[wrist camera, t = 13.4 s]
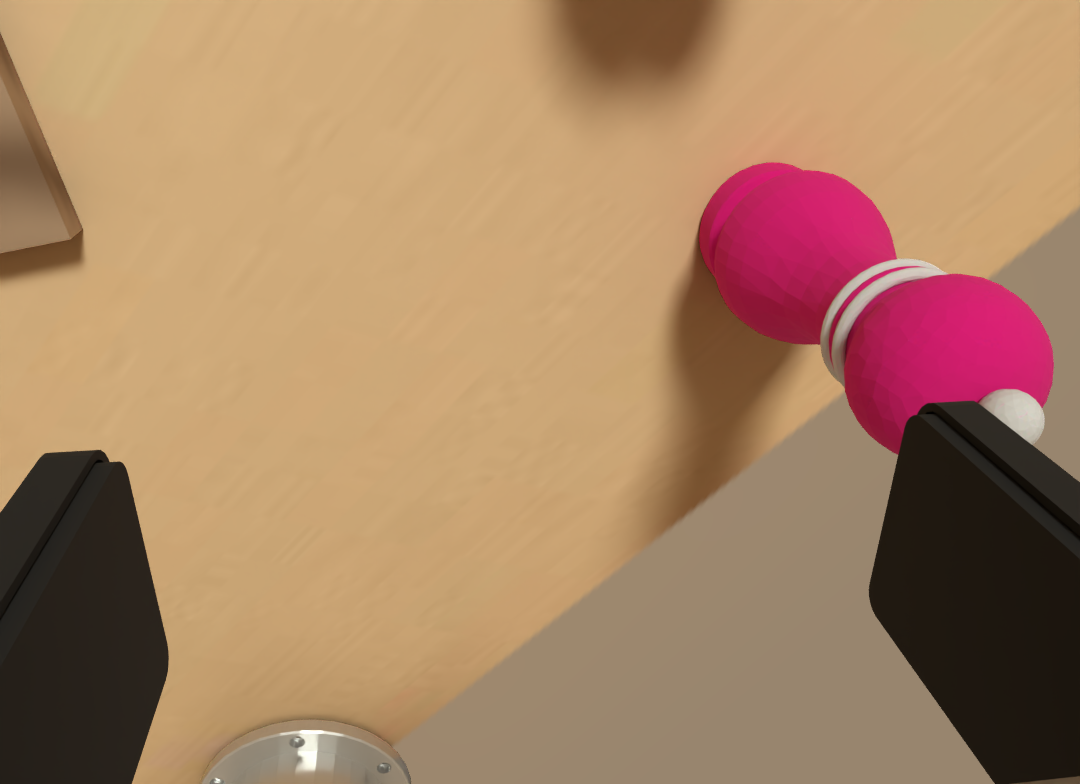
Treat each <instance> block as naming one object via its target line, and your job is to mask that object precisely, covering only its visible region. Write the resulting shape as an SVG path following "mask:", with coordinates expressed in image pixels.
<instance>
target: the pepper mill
mask: <svg viewBox="0 0 1080 784" xmlns="http://www.w3.org/2000/svg"><path fill="white" fill-rule="evenodd" d="M699 243H700V250H701V253H702V256H703V259H704V262H705V264H706V266H707V268H708V269H709V271H710V272H711V273H712V274H713V276H714V277H715V278H716V282H717V285H718V288H719V291H720V293H721V295H722V297H723V299H724V301H725V303H726V305H727V306H728V307H729V309H730V310H731V311H732V312H733V314H735V315H736V316H737V317H738V318H739V319H740V320H741V321H743V322H744V323H745V324H747V325H748V326H750V327H751V328H752V329H754V330H755V331H757V332H758V333H760V334H763V335H765V336H768V337H770V338H773V339H777V340H780V341H784V342H789V343H793V344H819V345H820V346H821V352H822V357H823V360H824V363H825V365H826V366H827V368H828V370H829V371H830V373H831V374H832V375H833V377H834V378H835V379H836V380H837V381H839V382H840V383H841V384H842V385H843V386H844V388H845V392H846V395H847V399H848V402H849V406H850V407H851V409H852V411H853V413H854V415H855V417H856V419H857V420H858V422H859V423H860V424H861V426H862V427H863V428H864V429H865V430H866V432H867V433H868V434H869V435H870V436H871V437H872V438H874V439H875V440H876V441H877V442H878V443H880V444H881V445H883V446H884V447H886V448H887V449H889V450H890V451H892V452H894V453H896V454H898V455H899V450H900V446H901V441H902V437H903V432H904V428H905V425H906V422H907V421H908V419H909V418H910V417H911V416H913V415H917V413H918V411H919V410H920V409H921V407H922V406H924V405H925V404H927V403H937V402H955V401H975V402H977V403H979V404H980V405H982V406H983V407H984V408H985V409H987V410H988V411H989V412H991V413H992V414H993V415H994V416H996V417H997V418H998V419H999V420H1001V421H1002V422H1003V423H1005V424H1006V425H1007V426H1008V427H1010V428H1011V429H1012V430H1014V431H1015V432H1016V433H1017V434H1019V435H1020V436H1021V437H1022V438H1024V439H1025V440H1026V441H1028V442H1029V443H1030V444H1031V445H1032V444H1034V443H1035V442H1036V441H1037V440H1038V438H1039V437H1040V435H1041V433H1042V431H1043V428H1044V414H1043V411H1042V408H1043V406H1044V404H1045V403H1046V401H1047V398H1048V395H1049V392H1050V388H1051V386H1052V379H1053V367H1054V362H1053V351H1052V346H1051V343H1050V340H1049V337H1048V335H1047V333H1046V331H1045V329H1044V327H1043V325H1042V323H1041V321H1040V320H1039V319H1038V317H1037V316H1036V315H1035V313H1034V312H1033V311H1032V310H1031V308H1030V307H1029V306H1028V305H1027V304H1026V303H1025V302H1024V301H1022V300H1021V299H1020V298H1019V297H1018V296H1017V295H1015V294H1014V293H1012V292H1010V291H1009V290H1007V289H1006V288H1004V287H1003V286H1001V285H999V284H997V283H994V282H992V281H990V280H987V279H985V278H982V277H976V276H970V275H963V274H947V273H945V272H943V271H941V270H940V269H939V268H938V267H936V266H934V265H932V264H930V263H928V262H925V261H921V260H915V259H897V258H896V253H895V249H894V244H893V240H892V237H891V234H890V231H889V228H888V226H887V224H886V222H885V221H884V219H883V217H882V215H881V213H880V212H879V210H878V209H877V207H876V206H875V205H874V203H873V202H872V200H871V199H869V198H868V197H867V196H866V195H865V194H864V193H862V192H861V191H860V190H859V189H858V188H857V187H855V186H854V185H853V184H851V183H850V182H848V181H847V180H845V179H843V178H841V177H838V176H836V175H834V174H829V173H825V172H821V171H809V170H804V171H803V170H801V169H799V168H797V167H795V166H793V165H788V164H783V163H763V164H758V165H753V166H751V167H749V168H746V169H744V170H742V171H739V172H738V173H736V174H735V175H733V176H732V177H730V178H729V179H728V180H727V181H726V182H725V183H724V184H722V185H721V186H720V188H719V189H718V190H717V191H716V193H715V194H714V195H713V196H712V198H711V200H710V202H709V203H708V205H707V207H706V209H705V211H704V214H703V217H702V220H701V224H700V235H699Z"/></svg>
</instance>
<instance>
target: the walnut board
mask: <svg viewBox="0 0 1080 784" xmlns="http://www.w3.org/2000/svg"><path fill="white" fill-rule="evenodd" d="M81 230H82V226H81V224H80V221H79V219H78V217H77V214H76V212H75V210H74V207H73V205H72V202H71V200H70V198H69V195H68V193H67V191H66V188H65V186H64V183H63V181H62V179H61V176H60V174H59V172H58V169H57V167H56V164H55V162H54V160H53V157H52V155H51V153H50V150H49V148H48V145H47V143H46V141H45V138H44V136H43V134H42V131H41V129H40V126H39V124H38V122H37V119H36V117H35V115H34V112H33V110H32V107H31V105H30V103H29V100H28V98H27V96H26V93H25V91H24V88H23V86H22V84H21V81H20V79H19V77H18V74H17V72H16V69H15V67H14V65H13V62H12V60H11V58H10V55H9V53H8V50H7V48H6V46H5V43H4V41H3V39H2V36H1V34H0V253H4V252H9V251H15V250H20V249H25V248H30V247H35V246H40V245H45V244H50V243H55V242H60V241H65V240H70V239H72V238H73V237H74V236H75V235H76V234H78V233H79V232H80V231H81Z"/></svg>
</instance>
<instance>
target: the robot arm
mask: <svg viewBox="0 0 1080 784" xmlns="http://www.w3.org/2000/svg"><path fill="white" fill-rule="evenodd" d="M869 598H870V603H871V607H872V609H873V612H874V614H875V615H876V617H877V619H878V620H879V621H880V623H881V624H882V626H883V627H884V628H885V630H886V631H887V633H888V634H889V635H890V637H891V638H892V640H893V641H894V642H895V644H896V645H897V647H898V648H899V650H900V651H901V652H902V654H903V655H904V657H905V658H906V659H907V661H908V662H909V664H910V665H911V666H912V668H913V669H914V671H915V672H916V673H917V675H918V676H919V678H920V679H921V681H922V682H923V683H924V685H925V686H926V688H927V689H928V690H929V692H930V693H931V694H932V696H933V697H934V699H935V700H936V701H937V703H938V704H939V706H940V707H941V709H942V710H943V711H944V713H945V714H946V716H947V717H948V718H949V720H950V721H951V723H952V724H953V726H954V727H955V728H956V730H957V731H958V733H959V734H960V735H961V737H962V738H963V740H964V741H965V742H966V744H967V745H968V747H969V748H970V749H971V751H972V752H973V754H974V755H975V756H976V758H977V759H978V761H979V762H980V764H981V765H982V766H983V768H984V769H985V771H986V772H987V773H988V775H989V776H990V778H991V779H992V780H993V782H994V783H995V784H1080V482H1079V481H1077V480H1076V479H1074V478H1073V477H1072V476H1071V475H1070V474H1068V473H1067V472H1066V471H1064V470H1063V469H1062V468H1061V467H1059V466H1058V465H1057V464H1056V463H1054V462H1053V461H1052V460H1051V459H1049V458H1048V457H1047V456H1045V455H1044V454H1043V453H1042V452H1040V451H1039V450H1038V449H1036V448H1035V447H1034V446H1033V445H1031V444H1030V443H1029V442H1028V441H1026V440H1025V439H1024V438H1022V437H1021V436H1020V435H1019V434H1017V433H1016V432H1015V431H1014V430H1012V429H1011V428H1010V427H1008V426H1007V425H1006V424H1005V423H1003V422H1002V421H1001V420H999V419H998V418H997V417H996V416H994V415H993V414H992V413H991V412H989V411H988V410H987V409H985V408H984V407H983V406H982V405H980V404H979V403H977V402H975V401H955V402H937V403H927V404H925V405H924V406H922V407H921V409H920V410H919V411H918V413H917V415H913V416H911V417H910V418H909V419H908V421H907V422H906V425H905V428H904V432H903V437H902V441H901V446H900V450H899V455H898V459H897V464H896V468H895V473H894V477H893V482H892V486H891V491H890V495H889V500H888V504H887V509H886V513H885V517H884V522H883V527H882V531H881V536H880V540H879V544H878V549H877V553H876V558H875V562H874V567H873V572H872V576H871V580H870V585H869ZM168 660H169V656H168V646H167V640H166V636H165V632H164V628H163V623H162V619H161V615H160V610H159V606H158V602H157V597H156V593H155V589H154V584H153V580H152V576H151V572H150V567H149V563H148V559H147V554H146V550H145V546H144V541H143V537H142V533H141V528H140V524H139V520H138V515H137V511H136V507H135V503H134V498H133V494H132V490H131V485H130V481H129V477H128V473H127V470H126V468H125V466H124V464H123V463H122V462H109V459H108V458H107V456H106V454H105V453H104V452H103V451H101V450H92V451H74V452H56V453H45V454H44V455H43V456H42V457H40V459H39V460H38V461H37V463H36V464H35V465H34V467H33V468H32V470H31V471H30V472H29V474H28V475H27V477H26V478H25V479H24V481H23V482H22V484H21V485H20V486H19V488H18V489H17V490H16V492H15V493H14V495H13V496H12V497H11V499H10V500H9V502H8V503H7V504H6V506H5V507H4V508H3V510H2V511H1V513H0V784H132V781H133V778H134V775H135V772H136V769H137V766H138V763H139V760H140V757H141V754H142V751H143V748H144V745H145V742H146V739H147V735H148V732H149V729H150V726H151V723H152V720H153V717H154V714H155V711H156V708H157V705H158V702H159V699H160V696H161V693H162V690H163V687H164V684H165V681H166V677H167V672H168ZM200 784H411V778H410V775H409V772H408V769H407V766H406V764H405V763H404V761H403V760H402V758H401V757H400V755H399V754H398V753H397V752H396V751H395V750H394V749H393V748H392V747H391V746H390V745H389V744H388V743H387V742H385V741H384V740H382V739H381V738H379V737H377V736H376V735H374V734H372V733H371V732H368V731H366V730H363V729H361V728H358V727H356V726H353V725H348V724H344V723H340V722H336V721H327V720H315V719H311V720H292V721H287V722H282V723H276V724H271V725H268V726H265V727H262V728H259V729H256V730H253V731H251V732H249V733H247V734H245V735H243V736H241V737H240V738H238V739H236V740H234V741H233V742H231V743H230V744H229V745H227V746H226V747H225V748H224V749H222V750H221V751H220V752H219V753H218V754H217V755H216V756H215V758H214V759H213V760H212V761H211V762H210V763H209V765H208V767H207V769H206V771H205V773H204V774H203V776H202V779H201V783H200Z"/></svg>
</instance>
